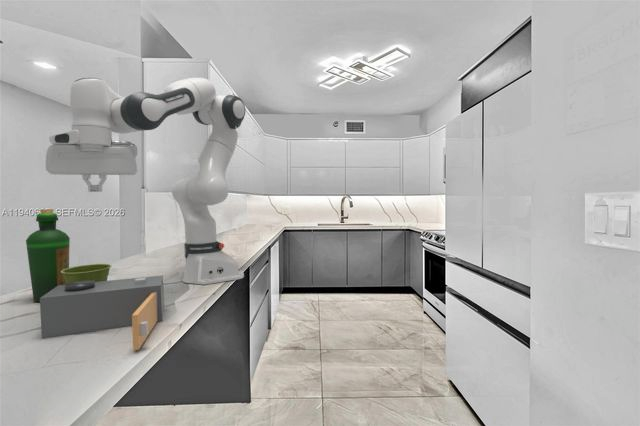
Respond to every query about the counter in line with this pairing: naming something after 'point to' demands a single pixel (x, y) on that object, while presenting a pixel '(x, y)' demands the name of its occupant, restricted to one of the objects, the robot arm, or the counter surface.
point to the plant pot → (87, 273)
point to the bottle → (47, 254)
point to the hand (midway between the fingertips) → (95, 191)
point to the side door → (144, 320)
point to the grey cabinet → (96, 304)
